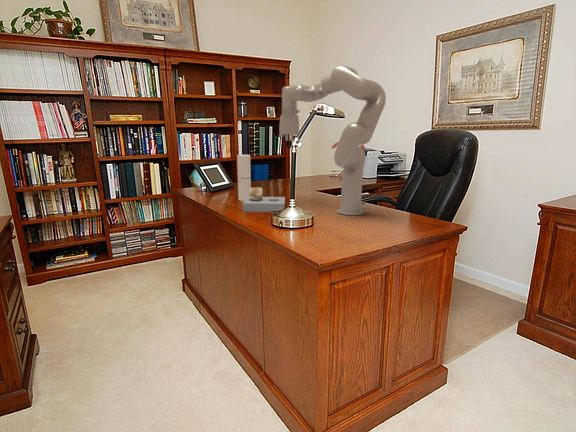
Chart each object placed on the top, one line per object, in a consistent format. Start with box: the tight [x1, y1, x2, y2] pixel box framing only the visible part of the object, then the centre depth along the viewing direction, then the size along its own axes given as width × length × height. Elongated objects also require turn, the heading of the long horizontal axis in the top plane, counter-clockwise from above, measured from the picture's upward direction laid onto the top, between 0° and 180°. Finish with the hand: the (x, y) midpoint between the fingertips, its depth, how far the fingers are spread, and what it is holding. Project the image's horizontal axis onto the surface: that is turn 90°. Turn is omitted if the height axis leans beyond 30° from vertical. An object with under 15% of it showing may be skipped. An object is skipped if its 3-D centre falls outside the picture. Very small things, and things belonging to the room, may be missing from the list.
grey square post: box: [236, 154, 252, 202], centre depth 195 cm, size 7×7×25 cm
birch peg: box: [249, 186, 263, 201], centre depth 177 cm, size 6×6×10 cm
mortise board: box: [242, 196, 286, 213], centre depth 177 cm, size 20×18×4 cm
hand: (289, 148), depth 183 cm, fingers closed
